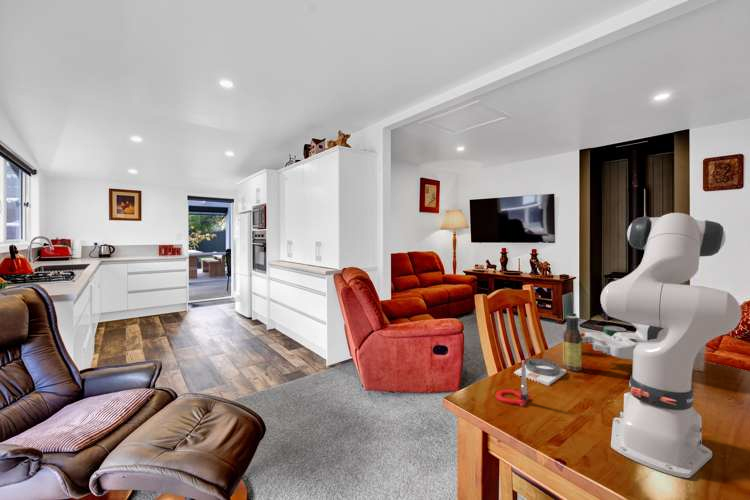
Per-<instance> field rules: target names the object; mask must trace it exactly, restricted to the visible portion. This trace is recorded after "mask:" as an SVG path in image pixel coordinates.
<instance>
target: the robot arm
mask: <svg viewBox="0 0 750 500" xmlns="http://www.w3.org/2000/svg"><path fill="white" fill-rule="evenodd" d="M725 232H726V231H724V226H723V225H722V224H720V223H719V222H716V221H711V220H708V219H707V220H706V219H705V220H699V219H695V218H694V217H693V216H691V215H689V214H686V213H682V212H670V213H666V214H663V215H662V216H658V217H655V216H654V217H649V216H641V217H636V219H634V220H632V222H631V223H630V225H629V226H628V228H627V230H626V237H627V242H628V244H629V245H630V246H631V247H632V248H634V249H637V250H641V251H642V250H644V253H643V257H642V259H641V262H640V264H639V265H638V266H637V267H636V268H635V269H634V270H633V271H631V272H630V273H629V274H627V275H625V276H624V277H622V278H619V279H616V280H613V281H611V282H609V283H608V284H607V285H605V287H604V288H603V289H602V290H601V294H600V297H599V298H600V304H601V309H603V311H604V313H605V314H606V315H607V316H608V317H610V318H613V319H616V320H620V321H622V322H626V323H629V324H630V325H632V326H633V327H634V328H635V329H636V331H635V332H627V331H626V332H616V333H615V334H614V335H613V336H609V335H607V334H605V333H604V332H597V331H594V332H593V331H586V332H584V336H581V338H582V343H585V342H587V343H589V344H590V345H591V349H592V350H594V351H595V352H596V351H599V352H602V353H604V352H607V353H609V354H611V355H610V356H612V357H614V358H618V359H625V360H632V374H631V375H630V379H629V382H628V385H629V387H628V388H629V389H628V392H626V393H623V394H624V395H623V411H619V415H618V416H619V417H614V418H613V420H612V426H611V427H612V428H611V437H610V438H611V440H610V447H611V448H612V449H613V450H614V451H616V452H617V453H619V454H621V455H622V456H623V457H626V458H628V459H630V460H632V461H633V462H636V463H638V464H641V465H644V466H646V467H648V468H652V469H654V470H657V471H659V472H661V473H665V474H668V475H671V476H675V477H679V478H685V479H689V478H692V477H693V475H695V474H696V473H697V472H698V471H699V470H700V469H702V467H703V466H704V465H705V464H706V463H707V462H708V461H709V460H710V459H712V458H713V451H712V450H711V449H709V448H708V447H707V446H705V445H704V444H702V443H703V442H702V438H703V436H702V430H703V429H702V428H703V426H702V416H701V415H700V414H699V413H698V412H697V410H695V409H694V407H693V406H694V400H695V394H694V388H692V380H693V379H692V376H693V371H694V370H693V364H694V360H695V357H696V355H697V353H698V352H699V350H700V349H701V348H702V347H703V346H704V345H705V344H706V345H707V343H709V342H710V341H712V340H714V339H716V338H719V337H720V336H723V335H727V334H729V333H731V332H732V331H734V329H736V328H737V326H738V325H739V323H740V322H741V320H742V315H743V313H742V308H741V306H740V303H739V302H738V300H737V299H736V298H735V297H734V295H732V294H731V293H730V292H728V291H725V290H721V289H717V288H711V287H708V286H707V287H706V286H703V285H693V284H692V285H691V284H683V283H685V282H688V281H690V280H691V279H692V278H693V277H694V276H695V275H697V272H698V271H699V266H700V265H699V264H700V257H711V256H714V255H716V254H718V253H719V251H720V250H721V249H722V248H723V246H724V244H725V242H726V233H725Z"/></svg>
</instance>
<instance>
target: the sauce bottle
mask: <svg viewBox="0 0 750 500" xmlns="http://www.w3.org/2000/svg"><path fill="white" fill-rule="evenodd" d="M565 321H566V326H565V327H566V329H565V331H563V333H562V335H563V336H562V338H563V341H562V363H563V369H565V370H568V371H571V372H572V371H573V372H580V371H582V366H583V342H582V338H581V337H582V335H581V333H580V330H579V317H578V316H576V315H575V316H574V315H567V316H566V317H565Z"/></svg>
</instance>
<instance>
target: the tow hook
mask: <svg viewBox="0 0 750 500" xmlns="http://www.w3.org/2000/svg"><path fill="white" fill-rule="evenodd" d="M525 365H526V363H525V359H523V360H521V367H520V368H521V373H522V377H521V385H520V391H521V392H520V391H516V390H512V389H499V390H498V391H496V392H495V397H496V399H497V400H498V401H500V402H502V403H506V404H511V405H519V406H520V407H524V406H525V405H526V404H527V403H528V401H529V400H530V398H531V395H530V394H529V393H528V386H527V378H526V368H525ZM502 395H514V396H515V397H518V398H519V399H518V398H515V399H514V398H513V399H510V398H507V397H504V396H502Z"/></svg>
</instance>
